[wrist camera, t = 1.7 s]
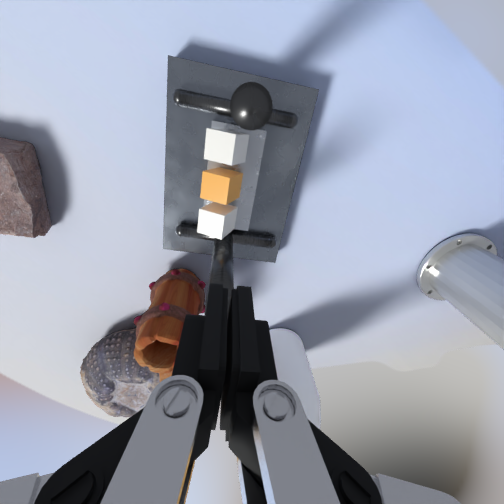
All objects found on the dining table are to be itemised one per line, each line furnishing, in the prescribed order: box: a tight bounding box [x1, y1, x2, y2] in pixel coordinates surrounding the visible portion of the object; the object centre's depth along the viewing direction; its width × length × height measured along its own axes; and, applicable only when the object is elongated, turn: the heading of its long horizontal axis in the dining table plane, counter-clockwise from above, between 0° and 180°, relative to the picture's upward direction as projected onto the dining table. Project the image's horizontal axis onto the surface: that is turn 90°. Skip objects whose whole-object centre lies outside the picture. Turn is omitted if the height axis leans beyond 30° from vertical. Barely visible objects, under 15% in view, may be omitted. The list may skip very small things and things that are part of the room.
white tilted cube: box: [204, 128, 249, 166], centre depth 27 cm, size 3×3×4 cm
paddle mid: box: [200, 167, 243, 205], centre depth 28 cm, size 3×3×4 cm
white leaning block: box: [197, 202, 238, 240], centre depth 30 cm, size 3×3×4 cm
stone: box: [0, 137, 52, 238], centre depth 31 cm, size 12×9×5 cm
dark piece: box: [163, 55, 319, 316], centre depth 26 cm, size 16×22×18 cm
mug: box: [134, 268, 206, 382], centre depth 36 cm, size 15×8×15 cm, turn 178°
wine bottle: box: [269, 328, 321, 429], centre depth 36 cm, size 10×10×30 cm
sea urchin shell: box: [80, 328, 160, 417], centre depth 46 cm, size 19×19×10 cm
